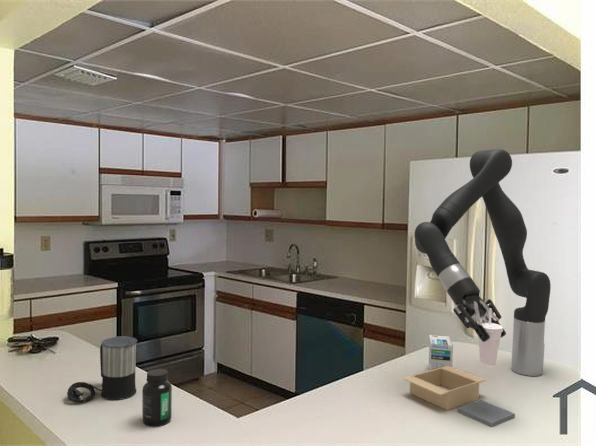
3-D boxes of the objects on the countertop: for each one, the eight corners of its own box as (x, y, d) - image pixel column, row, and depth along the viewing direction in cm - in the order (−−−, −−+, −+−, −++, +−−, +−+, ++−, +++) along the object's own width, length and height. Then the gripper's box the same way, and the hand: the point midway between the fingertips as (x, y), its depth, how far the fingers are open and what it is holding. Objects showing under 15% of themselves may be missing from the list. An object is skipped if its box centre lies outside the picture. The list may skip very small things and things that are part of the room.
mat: (480, 403, 134) (480, 399, 134) (514, 417, 126) (514, 413, 126) (457, 411, 128) (457, 407, 128) (491, 427, 120) (491, 423, 120)
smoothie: (500, 360, 128) (503, 307, 127) (502, 368, 122) (505, 313, 121) (474, 356, 130) (477, 305, 130) (474, 364, 124) (477, 310, 124)
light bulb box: (452, 380, 151) (453, 345, 150) (429, 377, 152) (431, 343, 152) (448, 368, 161) (450, 335, 161) (427, 366, 163) (428, 334, 162)
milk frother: (144, 391, 136) (144, 339, 136) (98, 413, 122) (98, 355, 121) (107, 381, 143) (107, 331, 142) (59, 401, 129) (59, 346, 128)
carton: (447, 381, 149) (447, 365, 149) (485, 397, 138) (486, 379, 138) (401, 395, 138) (402, 377, 138) (439, 413, 127) (440, 394, 127)
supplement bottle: (172, 425, 117) (172, 376, 116) (141, 428, 115) (142, 378, 114) (171, 413, 123) (171, 366, 123) (142, 416, 121) (142, 368, 121)
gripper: (449, 278, 127) (487, 334, 118) (483, 274, 135) (521, 326, 126) (432, 294, 132) (468, 350, 123) (466, 289, 140) (501, 341, 131)
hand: (494, 337), depth 125 cm, fingers closed on smoothie, 6 cm apart
